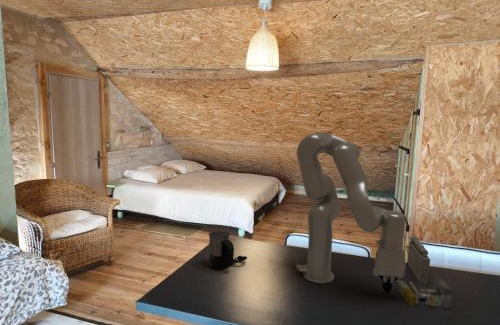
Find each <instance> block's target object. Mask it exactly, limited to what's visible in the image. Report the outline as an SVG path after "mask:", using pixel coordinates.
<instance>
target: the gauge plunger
mask: <svg viewBox="0 0 500 325" xmlns="http://www.w3.org/2000/svg"><path fill="white" fill-rule="evenodd" d="M408 287H409V288H410V289H411V290H412V292H413V293H414V294H415V296H416V305H418V304H419V299H423V300H425V299H426V296H427V297H430V298H431V306H430V307H434V306H433V301H434V298H433V297H438V298H440V295H434V294H430V293H429V291H428V288H424V289H425V294H423V293H420V291H419V290H418V289H417V288H416V286H415V284H414V283H413V282H412V281H408ZM432 296H433V297H432Z"/></svg>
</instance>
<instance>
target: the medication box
mask: <svg viewBox="0 0 500 325" xmlns="http://www.w3.org/2000/svg"><path fill="white" fill-rule="evenodd" d="M396 290H397V291H398V293H399V294H400V295H401V298H403V300H404V301H405V302H406V304H407V305H408V307H409V306H410V307H417V304H416V296H415V294H414V293H413V292H412V290H411V289H410V288H409V284H407V283H406V281H405V280H403V279H397V280H396Z"/></svg>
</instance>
